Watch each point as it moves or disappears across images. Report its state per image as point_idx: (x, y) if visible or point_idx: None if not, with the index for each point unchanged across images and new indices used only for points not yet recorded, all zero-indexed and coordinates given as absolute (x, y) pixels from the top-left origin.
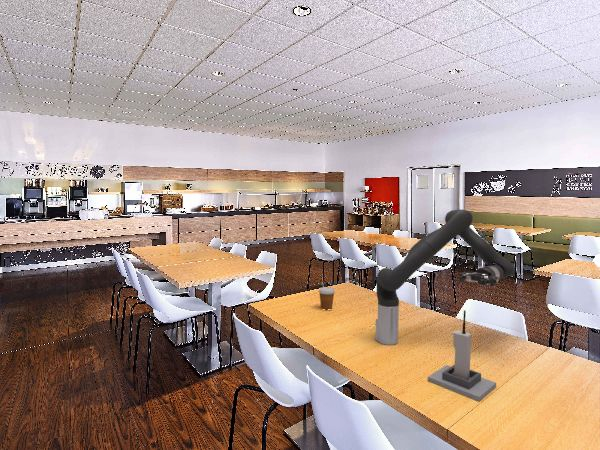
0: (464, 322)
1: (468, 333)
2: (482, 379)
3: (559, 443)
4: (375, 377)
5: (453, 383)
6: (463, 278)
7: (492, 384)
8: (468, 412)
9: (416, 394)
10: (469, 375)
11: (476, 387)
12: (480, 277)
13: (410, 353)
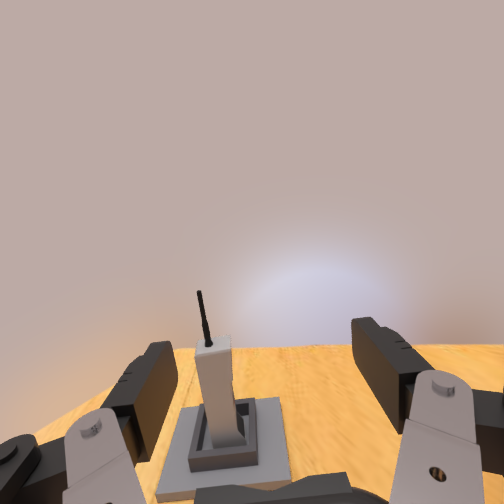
0: (203, 318)
1: (199, 350)
2: (188, 480)
3: (77, 408)
4: (335, 354)
5: None
6: (375, 371)
7: (163, 475)
8: (190, 381)
9: (264, 365)
10: (212, 445)
11: (192, 433)
12: (208, 495)
13: None
